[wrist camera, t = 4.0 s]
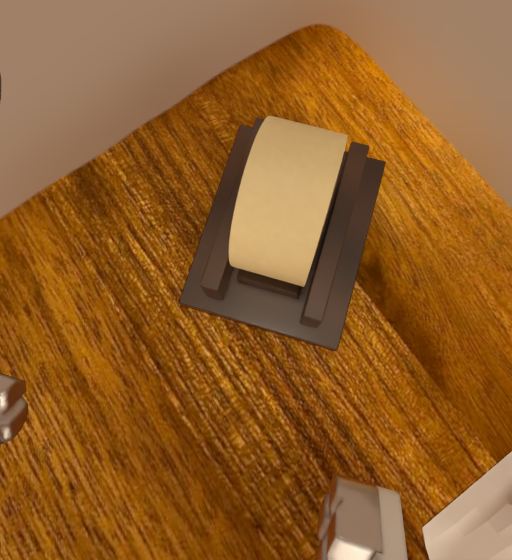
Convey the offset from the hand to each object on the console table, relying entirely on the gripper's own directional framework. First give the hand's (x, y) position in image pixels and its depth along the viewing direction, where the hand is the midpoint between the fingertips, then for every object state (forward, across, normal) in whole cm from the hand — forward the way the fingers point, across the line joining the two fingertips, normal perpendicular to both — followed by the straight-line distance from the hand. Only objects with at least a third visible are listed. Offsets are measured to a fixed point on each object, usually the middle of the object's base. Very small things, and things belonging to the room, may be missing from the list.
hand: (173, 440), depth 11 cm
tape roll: (+21, 0, +2) cm, 21 cm away
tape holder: (+22, 0, +2) cm, 22 cm away
